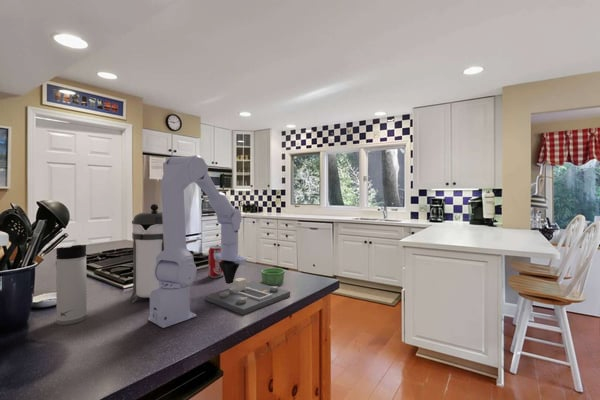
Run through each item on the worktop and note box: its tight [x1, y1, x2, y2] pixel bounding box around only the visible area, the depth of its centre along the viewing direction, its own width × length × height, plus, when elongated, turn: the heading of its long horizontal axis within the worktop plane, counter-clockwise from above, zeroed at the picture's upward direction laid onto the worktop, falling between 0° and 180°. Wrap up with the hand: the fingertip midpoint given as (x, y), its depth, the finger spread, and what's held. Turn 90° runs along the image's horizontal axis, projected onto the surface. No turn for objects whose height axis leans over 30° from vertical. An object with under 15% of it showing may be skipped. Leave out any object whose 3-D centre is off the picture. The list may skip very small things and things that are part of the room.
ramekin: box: [260, 267, 286, 286], centre depth 115 cm, size 9×9×4 cm
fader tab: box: [232, 277, 247, 291], centre depth 99 cm, size 3×2×4 cm
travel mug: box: [55, 244, 88, 326], centre depth 78 cm, size 6×7×20 cm
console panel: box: [204, 281, 291, 316], centre depth 97 cm, size 20×18×3 cm
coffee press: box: [128, 203, 164, 304], centre depth 98 cm, size 17×16×30 cm
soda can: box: [207, 245, 224, 279], centre depth 122 cm, size 6×6×12 cm
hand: (229, 282), depth 103 cm, fingers closed
